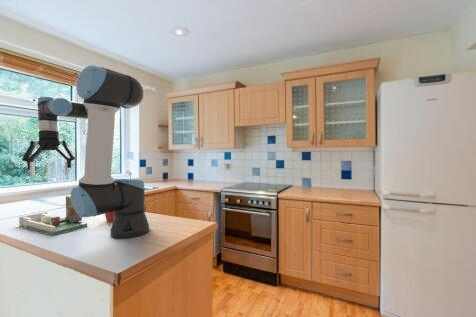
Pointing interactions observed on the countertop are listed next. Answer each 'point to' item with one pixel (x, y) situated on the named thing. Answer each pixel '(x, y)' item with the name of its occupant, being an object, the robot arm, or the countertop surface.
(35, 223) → the pitch
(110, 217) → the flower pot
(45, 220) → the ball
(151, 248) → the countertop surface
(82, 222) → the rail
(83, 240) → the countertop surface
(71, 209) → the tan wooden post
